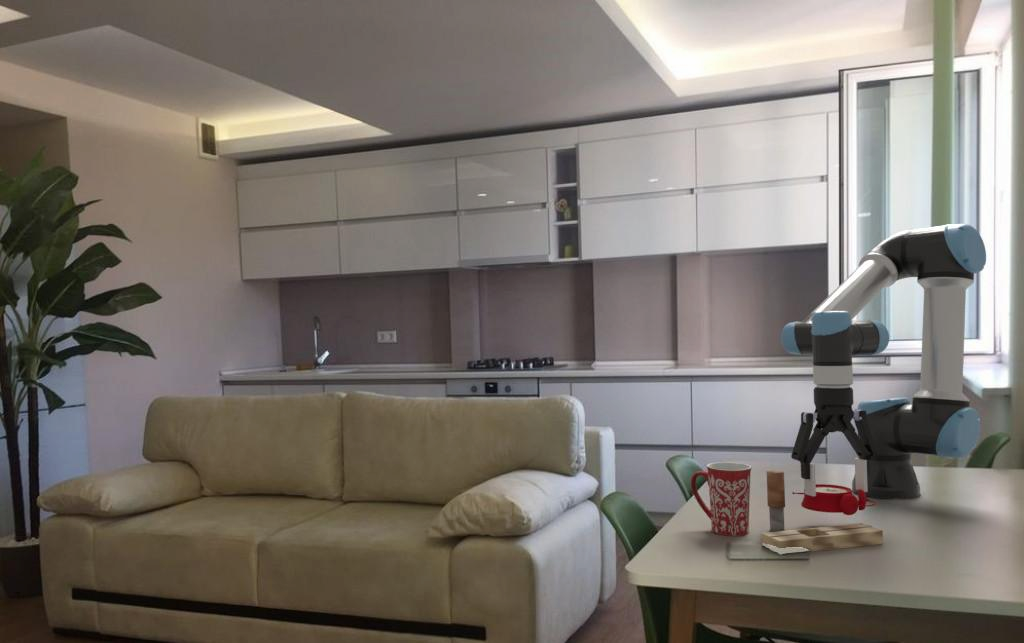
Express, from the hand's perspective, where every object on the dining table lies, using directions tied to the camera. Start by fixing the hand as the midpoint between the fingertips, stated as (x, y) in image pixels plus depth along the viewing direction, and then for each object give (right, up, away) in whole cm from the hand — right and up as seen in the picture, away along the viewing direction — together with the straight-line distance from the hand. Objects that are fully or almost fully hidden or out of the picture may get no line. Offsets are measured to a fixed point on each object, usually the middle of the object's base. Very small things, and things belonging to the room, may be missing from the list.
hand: (836, 492), depth 158 cm
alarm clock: (0, -4, 0) cm, 4 cm away
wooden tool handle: (-12, -8, 0) cm, 14 cm away
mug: (-23, -8, +2) cm, 24 cm away
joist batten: (-7, -7, -11) cm, 15 cm away
